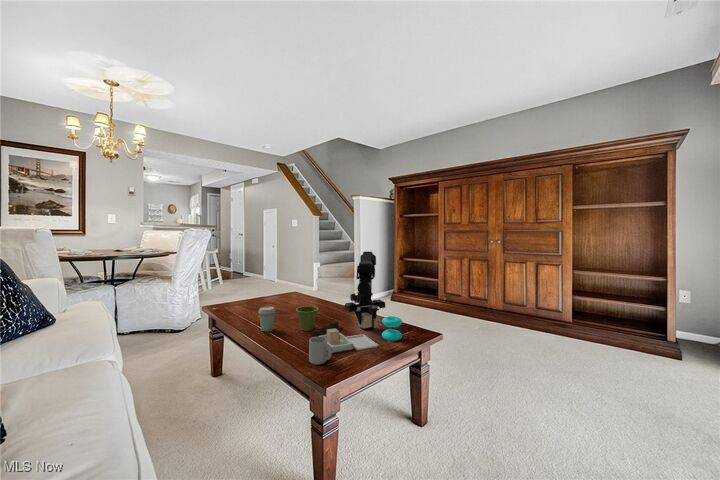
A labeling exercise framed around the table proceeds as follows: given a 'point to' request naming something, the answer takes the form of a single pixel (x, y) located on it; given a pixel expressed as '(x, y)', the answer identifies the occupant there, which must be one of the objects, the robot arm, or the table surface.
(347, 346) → the bin
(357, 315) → the robot arm
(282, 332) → the table surface
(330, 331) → the tan rectangular block
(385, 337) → the donuts
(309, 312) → the plant pot
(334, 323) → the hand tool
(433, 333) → the table surface
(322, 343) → the cup
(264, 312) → the coffee cup
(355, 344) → the tray
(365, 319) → the tan rectangular block
